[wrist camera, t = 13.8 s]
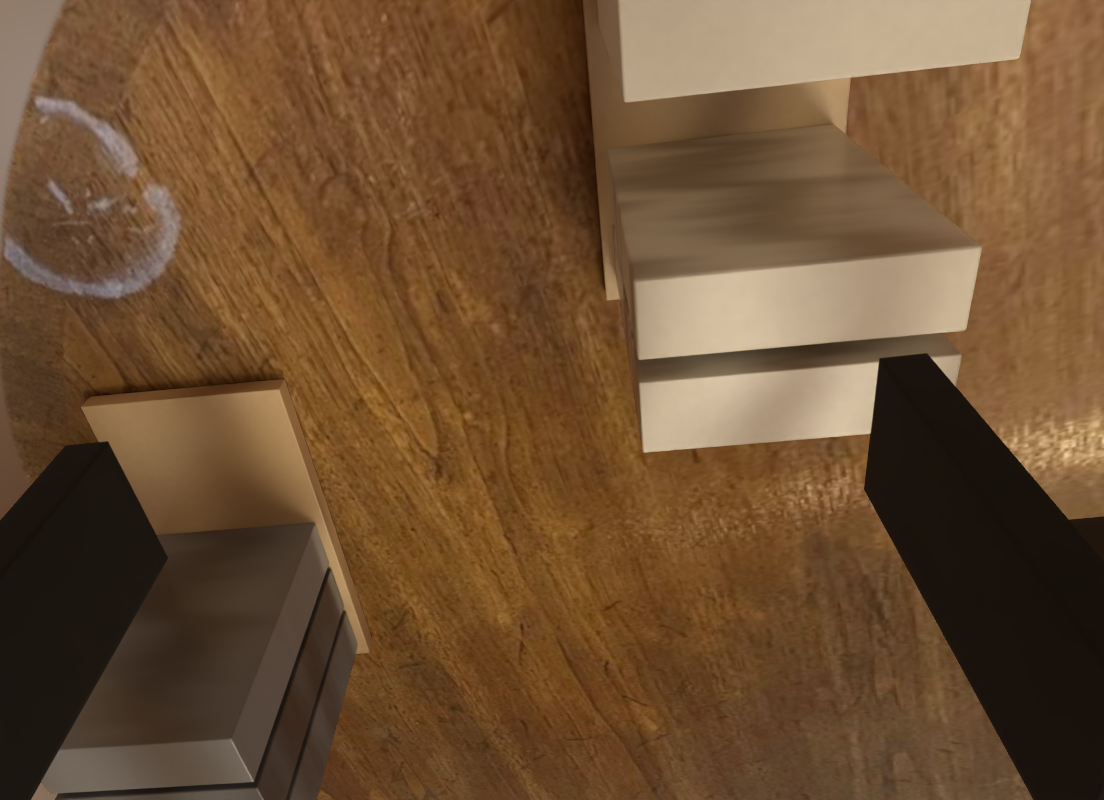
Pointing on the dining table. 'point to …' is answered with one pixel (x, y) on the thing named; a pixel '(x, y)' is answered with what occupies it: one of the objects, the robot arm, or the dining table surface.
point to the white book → (796, 40)
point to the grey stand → (220, 609)
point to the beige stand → (763, 260)
